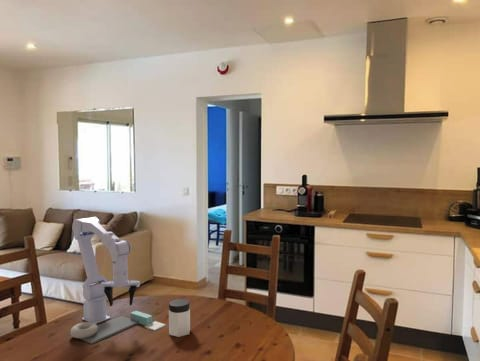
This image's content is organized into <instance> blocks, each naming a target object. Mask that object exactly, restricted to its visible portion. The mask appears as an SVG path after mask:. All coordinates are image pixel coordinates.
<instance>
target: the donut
mask: <svg viewBox="0 0 480 361" xmlns="http://www.w3.org/2000/svg"><path fill="white" fill-rule="evenodd" d="M97 325H98V324H95V323H93V322H88V321H83V322H79V323H77V324H75V325H74V326H72V327H71V329H70V332H69V333H70V335H71V337H73V338H75V339H79V338H87V337H90V336H92V335H94V334H95V333H96V332H97V330H98V326H97Z"/></svg>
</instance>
